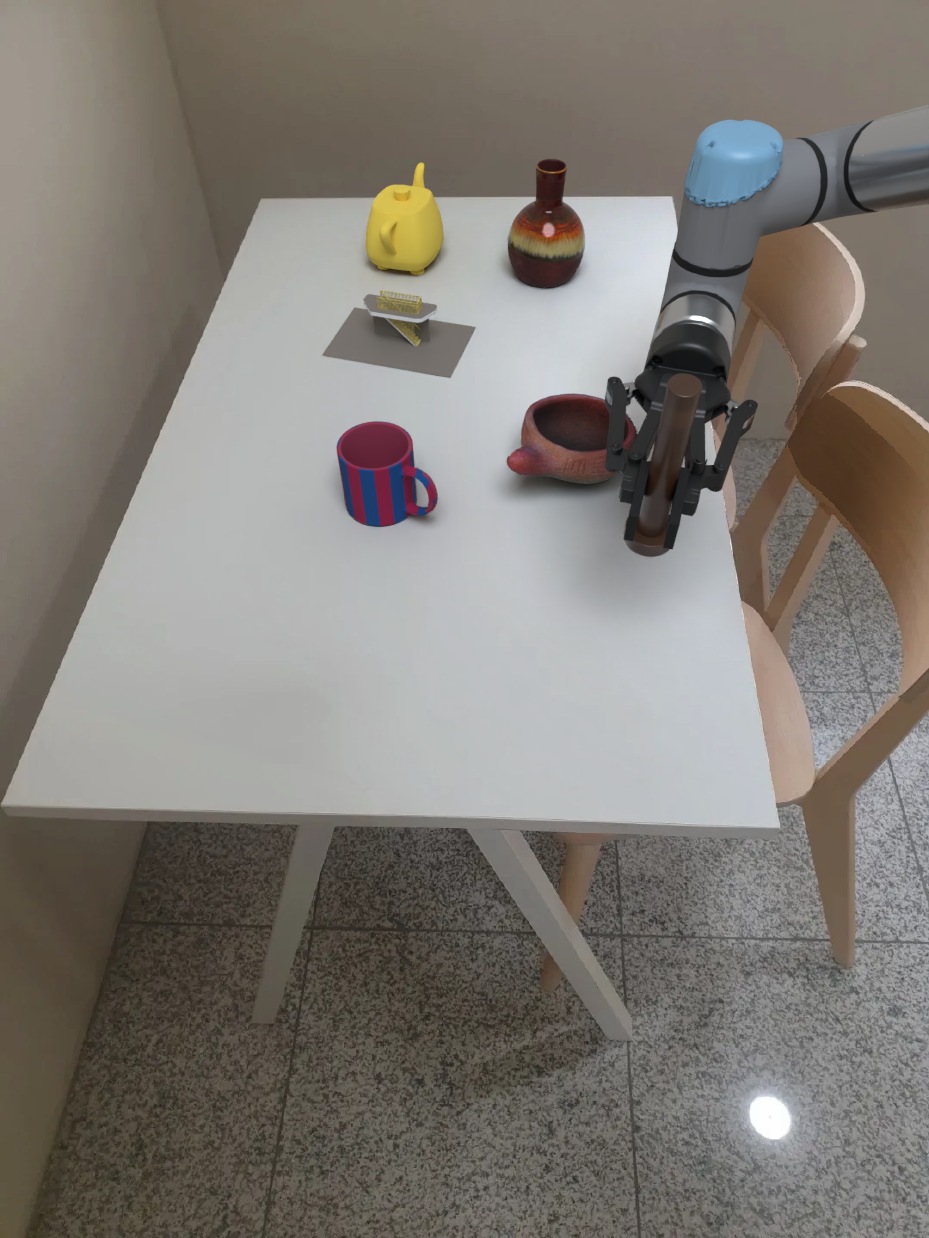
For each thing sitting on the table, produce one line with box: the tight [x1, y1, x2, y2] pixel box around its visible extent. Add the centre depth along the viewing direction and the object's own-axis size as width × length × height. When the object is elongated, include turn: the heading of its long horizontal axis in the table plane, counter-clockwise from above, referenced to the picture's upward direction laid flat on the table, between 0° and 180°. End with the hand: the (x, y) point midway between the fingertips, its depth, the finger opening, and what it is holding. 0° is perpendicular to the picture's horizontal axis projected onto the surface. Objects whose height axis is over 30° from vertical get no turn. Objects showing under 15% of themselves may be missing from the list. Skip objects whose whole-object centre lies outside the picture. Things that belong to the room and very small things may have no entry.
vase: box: [507, 158, 586, 288], centre depth 118 cm, size 11×11×15 cm
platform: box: [321, 289, 476, 378], centre depth 111 cm, size 12×18×7 cm, turn 73°
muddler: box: [623, 373, 702, 558], centre depth 66 cm, size 4×4×18 cm
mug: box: [336, 420, 439, 527], centre depth 91 cm, size 8×12×8 cm, turn 46°
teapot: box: [365, 162, 445, 276], centre depth 123 cm, size 18×11×11 cm, turn 164°
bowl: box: [506, 392, 638, 485], centre depth 94 cm, size 16×13×8 cm
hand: (651, 532), depth 64 cm, fingers closed on muddler, 2 cm apart
